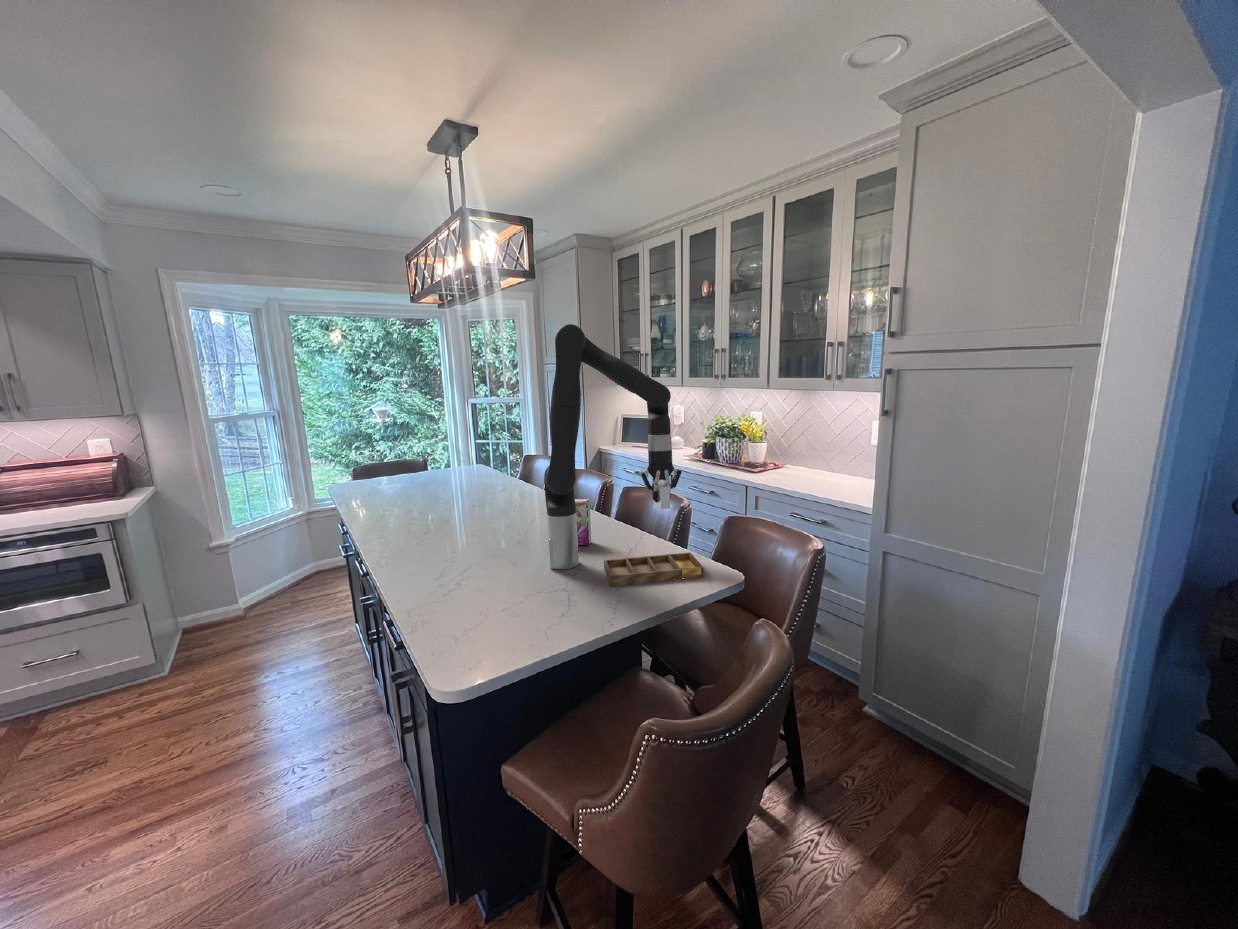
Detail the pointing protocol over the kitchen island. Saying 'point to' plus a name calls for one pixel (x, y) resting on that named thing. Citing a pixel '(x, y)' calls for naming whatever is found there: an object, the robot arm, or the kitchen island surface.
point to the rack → (652, 569)
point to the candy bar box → (583, 521)
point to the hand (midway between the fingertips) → (661, 501)
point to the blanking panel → (663, 495)
